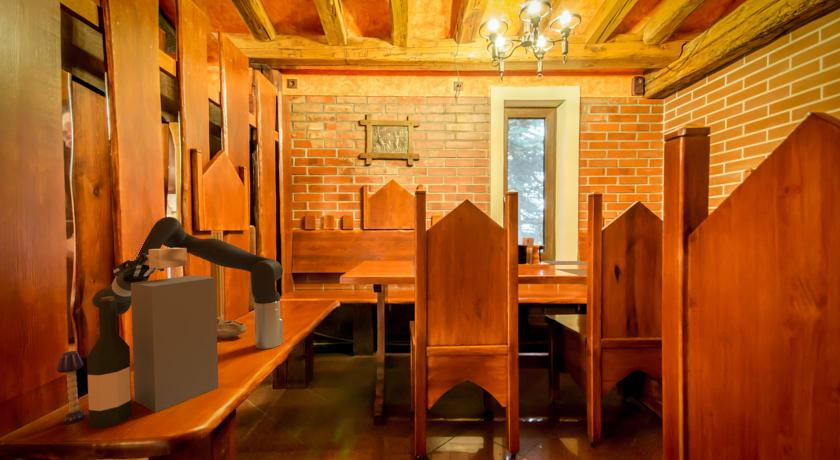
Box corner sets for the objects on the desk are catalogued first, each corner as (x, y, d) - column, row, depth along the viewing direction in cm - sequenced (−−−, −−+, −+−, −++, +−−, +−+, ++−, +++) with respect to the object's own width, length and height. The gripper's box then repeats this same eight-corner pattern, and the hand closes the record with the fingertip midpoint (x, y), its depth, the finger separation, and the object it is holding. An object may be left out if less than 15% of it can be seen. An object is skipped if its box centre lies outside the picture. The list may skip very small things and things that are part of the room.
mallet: (155, 262, 115) (155, 246, 115) (187, 265, 105) (186, 248, 105) (128, 264, 109) (128, 247, 109) (159, 268, 99) (158, 250, 99)
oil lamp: (240, 341, 149) (240, 321, 149) (204, 341, 150) (204, 321, 149) (254, 333, 160) (253, 314, 160) (220, 333, 161) (220, 314, 160)
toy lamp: (69, 426, 87) (66, 356, 86) (53, 424, 88) (51, 355, 87) (90, 415, 91) (88, 349, 91) (76, 414, 92) (73, 348, 92)
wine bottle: (96, 432, 84) (91, 302, 83) (83, 422, 88) (78, 298, 88) (139, 415, 91) (135, 295, 90) (124, 407, 95) (121, 292, 95)
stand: (196, 379, 112) (193, 275, 112) (218, 387, 106) (215, 277, 105) (134, 401, 99) (130, 283, 98) (155, 412, 92) (151, 286, 92)
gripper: (99, 272, 111) (119, 245, 103) (152, 267, 123) (173, 242, 115) (105, 295, 110) (126, 269, 102) (158, 287, 122) (180, 264, 114)
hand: (151, 255), depth 109 cm, fingers closed on mallet, 2 cm apart
